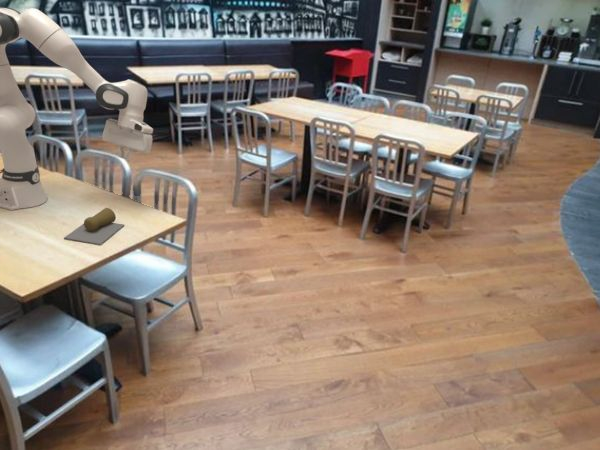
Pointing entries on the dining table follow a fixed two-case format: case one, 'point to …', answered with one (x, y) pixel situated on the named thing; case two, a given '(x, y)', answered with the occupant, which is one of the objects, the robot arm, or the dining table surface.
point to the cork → (99, 219)
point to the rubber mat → (94, 234)
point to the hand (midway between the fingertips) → (123, 158)
